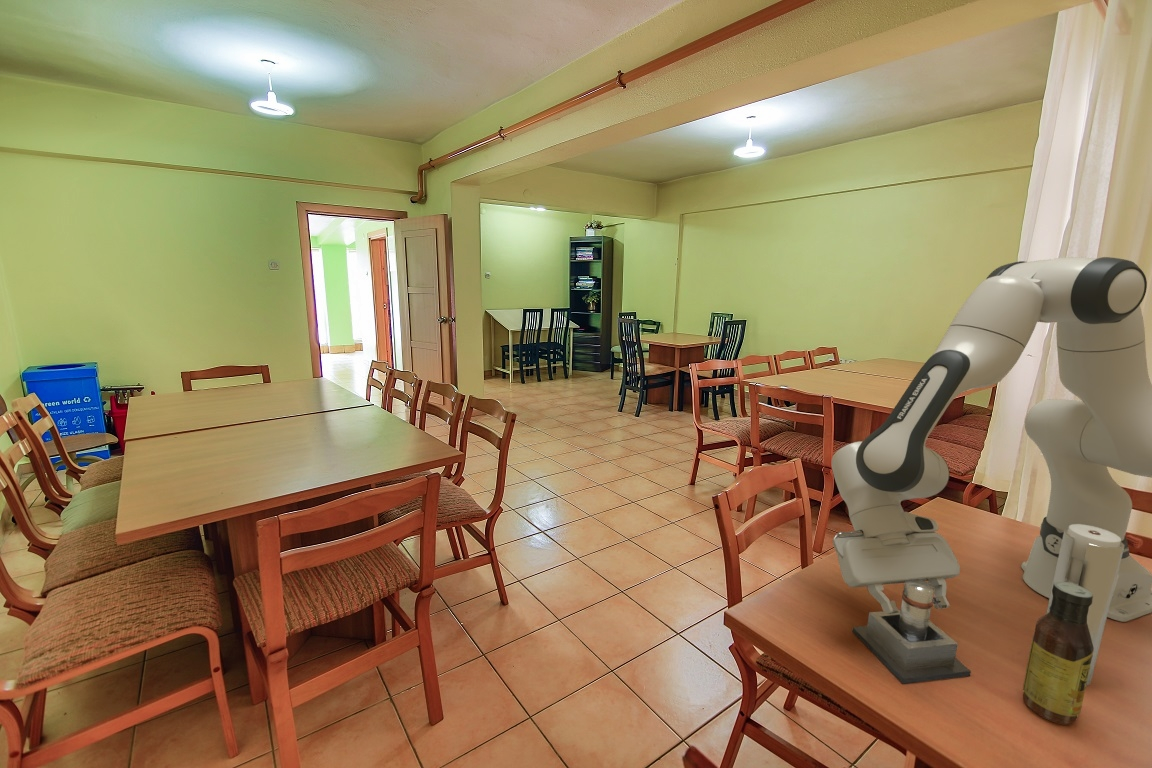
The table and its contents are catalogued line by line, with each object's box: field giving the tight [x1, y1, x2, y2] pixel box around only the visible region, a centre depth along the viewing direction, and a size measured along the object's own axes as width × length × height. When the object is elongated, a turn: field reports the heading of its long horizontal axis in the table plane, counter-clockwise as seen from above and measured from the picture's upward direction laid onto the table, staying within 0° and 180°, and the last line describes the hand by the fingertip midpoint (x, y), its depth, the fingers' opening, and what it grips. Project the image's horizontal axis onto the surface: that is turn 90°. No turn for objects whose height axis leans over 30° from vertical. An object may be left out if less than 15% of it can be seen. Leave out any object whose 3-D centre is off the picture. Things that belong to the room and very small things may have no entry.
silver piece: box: [1045, 524, 1124, 687], centre depth 78 cm, size 6×6×25 cm
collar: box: [852, 609, 972, 685], centre depth 85 cm, size 12×12×5 cm
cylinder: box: [897, 579, 934, 643], centre depth 84 cm, size 4×4×12 cm
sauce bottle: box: [1022, 581, 1094, 726], centre depth 72 cm, size 6×6×20 cm
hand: (917, 610), depth 83 cm, fingers open, 8 cm apart
